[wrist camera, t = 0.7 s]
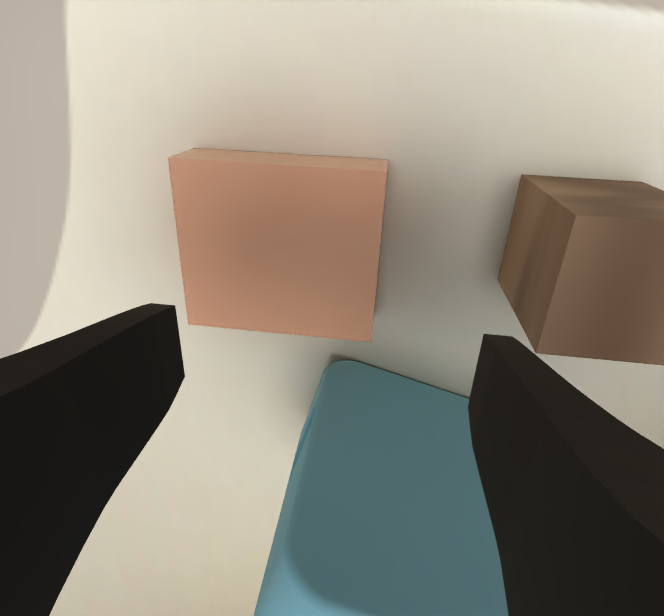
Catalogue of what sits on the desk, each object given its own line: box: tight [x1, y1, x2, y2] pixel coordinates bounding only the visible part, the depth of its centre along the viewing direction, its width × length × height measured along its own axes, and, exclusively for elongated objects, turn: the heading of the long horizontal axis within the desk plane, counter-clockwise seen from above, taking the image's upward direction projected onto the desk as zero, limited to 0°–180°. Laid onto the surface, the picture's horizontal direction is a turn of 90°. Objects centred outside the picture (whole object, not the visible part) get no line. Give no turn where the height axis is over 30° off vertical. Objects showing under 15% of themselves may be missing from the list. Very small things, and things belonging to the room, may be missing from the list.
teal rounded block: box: [254, 360, 509, 616], centre depth 18 cm, size 12×4×12 cm, turn 72°
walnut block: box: [498, 175, 664, 365], centre depth 16 cm, size 4×4×6 cm
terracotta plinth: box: [168, 148, 388, 342], centre depth 19 cm, size 8×7×2 cm
